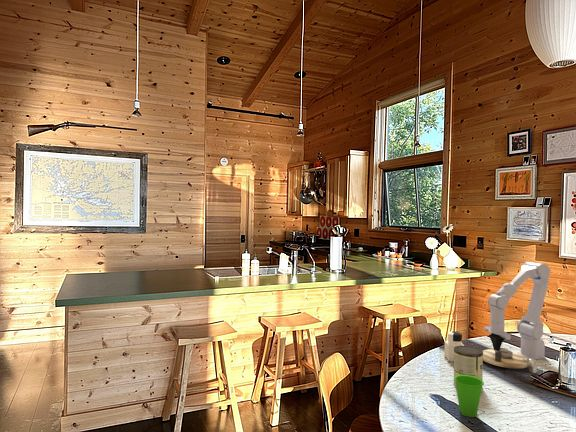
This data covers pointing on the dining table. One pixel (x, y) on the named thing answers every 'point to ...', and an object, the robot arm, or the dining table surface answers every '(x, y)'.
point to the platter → (496, 359)
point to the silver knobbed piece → (531, 365)
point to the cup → (468, 394)
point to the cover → (505, 353)
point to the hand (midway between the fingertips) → (496, 350)
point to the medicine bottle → (452, 344)
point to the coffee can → (468, 361)
